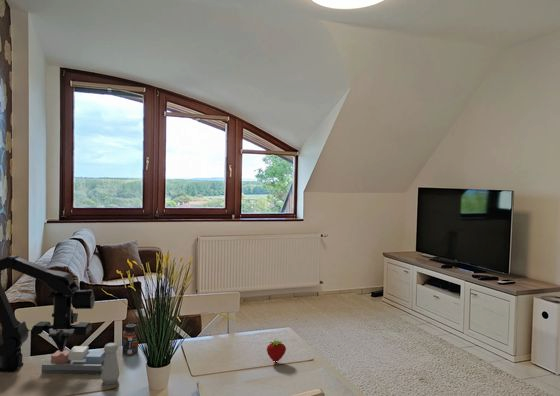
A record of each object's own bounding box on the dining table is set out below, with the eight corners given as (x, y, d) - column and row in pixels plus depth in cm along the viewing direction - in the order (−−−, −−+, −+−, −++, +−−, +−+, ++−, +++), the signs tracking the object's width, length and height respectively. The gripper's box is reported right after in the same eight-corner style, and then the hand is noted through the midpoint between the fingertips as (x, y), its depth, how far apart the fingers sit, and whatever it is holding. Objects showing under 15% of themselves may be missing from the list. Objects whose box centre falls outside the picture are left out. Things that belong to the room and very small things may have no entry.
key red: (50, 364, 151) (51, 355, 151) (57, 358, 156) (57, 350, 156) (65, 364, 152) (65, 356, 151) (71, 358, 156) (71, 350, 156)
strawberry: (287, 365, 163) (288, 339, 162) (267, 366, 161) (269, 340, 160) (283, 358, 168) (284, 334, 168) (264, 360, 166) (265, 335, 166)
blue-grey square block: (85, 364, 152) (85, 356, 152) (90, 358, 157) (91, 350, 157) (99, 365, 152) (100, 356, 152) (104, 359, 157) (105, 351, 157)
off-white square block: (68, 359, 151) (68, 351, 151) (74, 354, 156) (74, 346, 156) (82, 360, 152) (82, 351, 152) (88, 354, 157) (88, 346, 157)
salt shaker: (112, 387, 141) (113, 348, 140) (97, 384, 142) (98, 346, 141) (122, 379, 146) (123, 342, 146) (107, 376, 148) (108, 340, 147)
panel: (41, 373, 148) (41, 364, 148) (57, 359, 160) (57, 350, 160) (100, 374, 149) (100, 365, 149) (112, 359, 161) (112, 351, 161)
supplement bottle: (133, 357, 164) (134, 328, 163) (119, 355, 165) (119, 327, 164) (140, 351, 170) (141, 323, 169) (127, 349, 171) (127, 322, 170)
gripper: (97, 302, 161) (96, 343, 162) (46, 301, 160) (46, 342, 161) (85, 312, 150) (84, 355, 151) (31, 311, 149) (30, 354, 150)
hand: (61, 351), depth 154 cm, fingers closed
